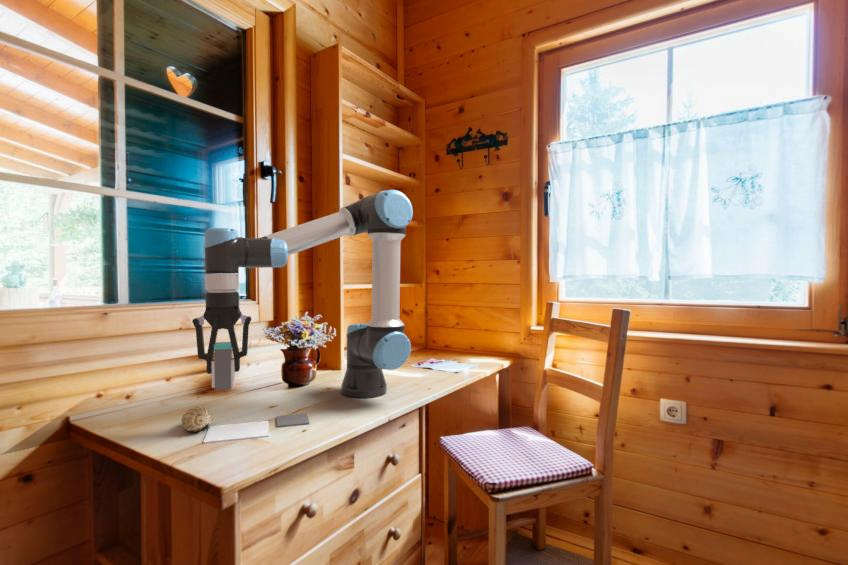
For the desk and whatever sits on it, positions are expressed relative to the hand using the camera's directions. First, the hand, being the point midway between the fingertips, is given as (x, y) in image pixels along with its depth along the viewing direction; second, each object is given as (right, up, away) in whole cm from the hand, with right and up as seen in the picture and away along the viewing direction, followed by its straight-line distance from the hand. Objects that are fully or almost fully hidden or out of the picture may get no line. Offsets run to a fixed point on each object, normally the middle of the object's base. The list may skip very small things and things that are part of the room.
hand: (223, 385), depth 108 cm
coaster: (+15, -11, +7) cm, 20 cm away
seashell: (-7, -11, 0) cm, 13 cm away
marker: (0, -1, 0) cm, 1 cm away
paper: (+4, -11, -1) cm, 12 cm away
